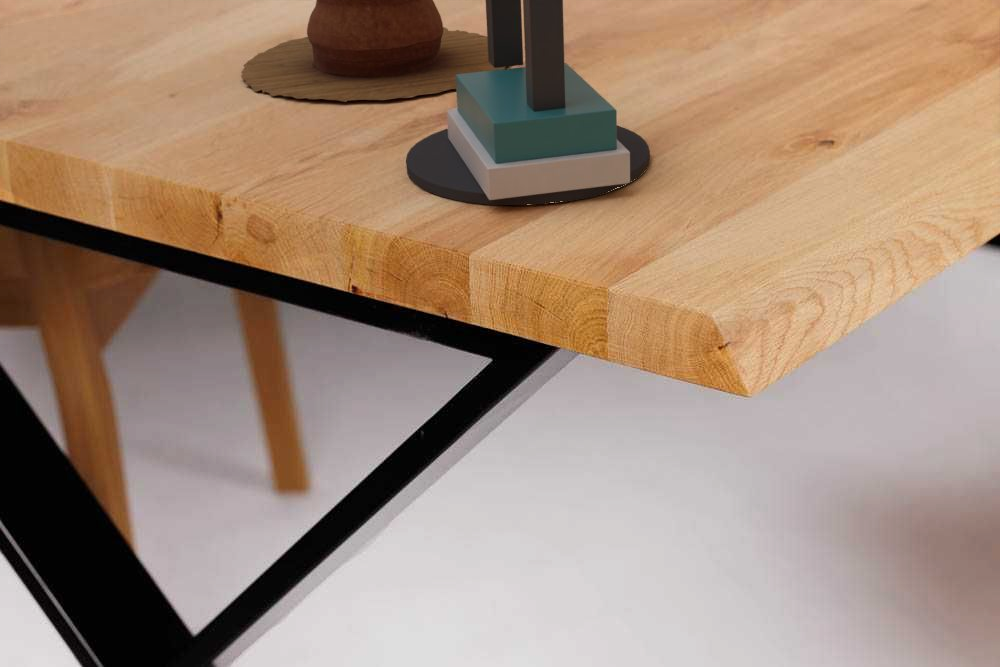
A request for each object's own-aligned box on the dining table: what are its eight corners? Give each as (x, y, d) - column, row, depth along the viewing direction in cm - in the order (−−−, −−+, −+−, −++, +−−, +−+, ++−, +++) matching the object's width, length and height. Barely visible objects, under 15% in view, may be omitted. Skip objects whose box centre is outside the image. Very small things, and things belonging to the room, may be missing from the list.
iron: (630, 183, 70) (629, -63, 65) (489, 200, 68) (476, -49, 63) (558, 107, 81) (552, -106, 76) (436, 121, 80) (422, -95, 75)
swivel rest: (359, 164, 76) (358, 153, 76) (539, 111, 83) (539, 101, 83) (512, 226, 67) (512, 214, 67) (700, 161, 74) (700, 149, 74)
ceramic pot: (478, 108, 84) (472, -14, 81) (195, 101, 88) (179, -15, 85) (539, 31, 100) (535, -73, 97) (297, 28, 104) (286, -72, 101)
